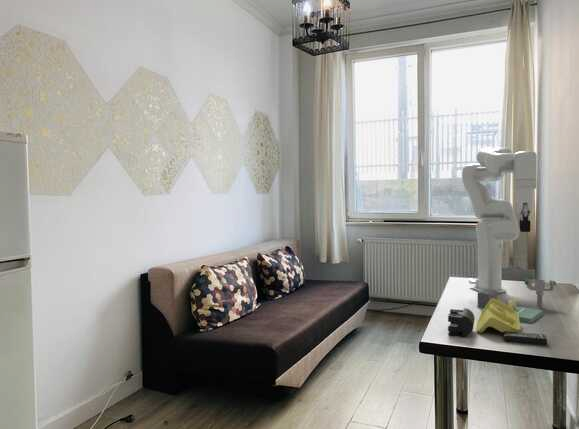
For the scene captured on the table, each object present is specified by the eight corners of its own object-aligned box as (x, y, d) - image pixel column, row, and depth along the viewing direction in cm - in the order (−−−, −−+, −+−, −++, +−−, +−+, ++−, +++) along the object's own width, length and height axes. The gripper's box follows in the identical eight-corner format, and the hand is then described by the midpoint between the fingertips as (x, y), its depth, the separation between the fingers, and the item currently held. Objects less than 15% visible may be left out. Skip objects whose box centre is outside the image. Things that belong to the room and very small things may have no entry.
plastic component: (521, 331, 129) (487, 314, 132) (508, 351, 131) (476, 334, 134) (518, 310, 147) (488, 295, 150) (507, 328, 149) (478, 313, 152)
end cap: (473, 339, 130) (473, 316, 129) (447, 336, 133) (447, 314, 132) (474, 329, 139) (474, 308, 138) (450, 327, 142) (450, 306, 141)
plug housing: (477, 306, 166) (477, 292, 166) (485, 302, 172) (485, 289, 172) (488, 308, 163) (489, 294, 163) (496, 304, 169) (496, 290, 169)
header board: (481, 314, 155) (481, 300, 155) (495, 307, 165) (495, 293, 165) (530, 323, 144) (531, 308, 144) (542, 314, 154) (542, 300, 154)
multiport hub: (502, 338, 131) (502, 330, 131) (544, 342, 127) (544, 334, 127) (504, 343, 127) (504, 335, 127) (547, 347, 123) (547, 339, 123)
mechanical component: (556, 307, 163) (556, 281, 163) (526, 306, 165) (526, 280, 165) (552, 305, 166) (553, 279, 166) (523, 304, 168) (524, 279, 168)
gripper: (513, 185, 171) (513, 229, 172) (513, 184, 156) (513, 232, 156) (535, 185, 168) (535, 229, 168) (538, 183, 152) (537, 232, 153)
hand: (524, 230), depth 162 cm, fingers open, 9 cm apart
